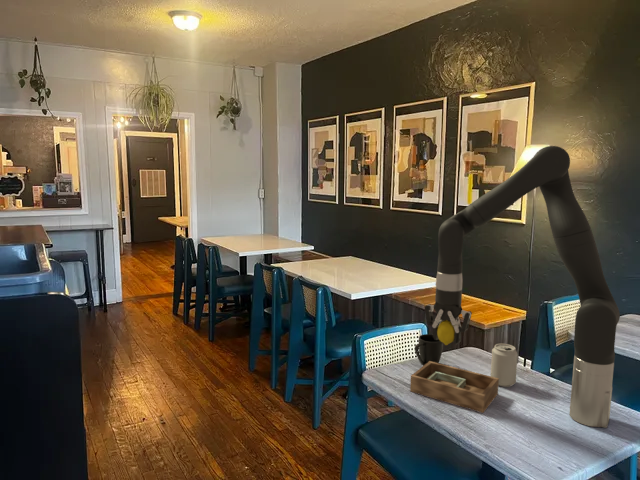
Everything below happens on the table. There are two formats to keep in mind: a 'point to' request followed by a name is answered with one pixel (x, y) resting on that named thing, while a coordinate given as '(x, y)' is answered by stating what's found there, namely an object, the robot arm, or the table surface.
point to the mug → (428, 349)
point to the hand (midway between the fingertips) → (446, 341)
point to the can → (504, 364)
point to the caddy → (455, 386)
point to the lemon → (446, 332)
